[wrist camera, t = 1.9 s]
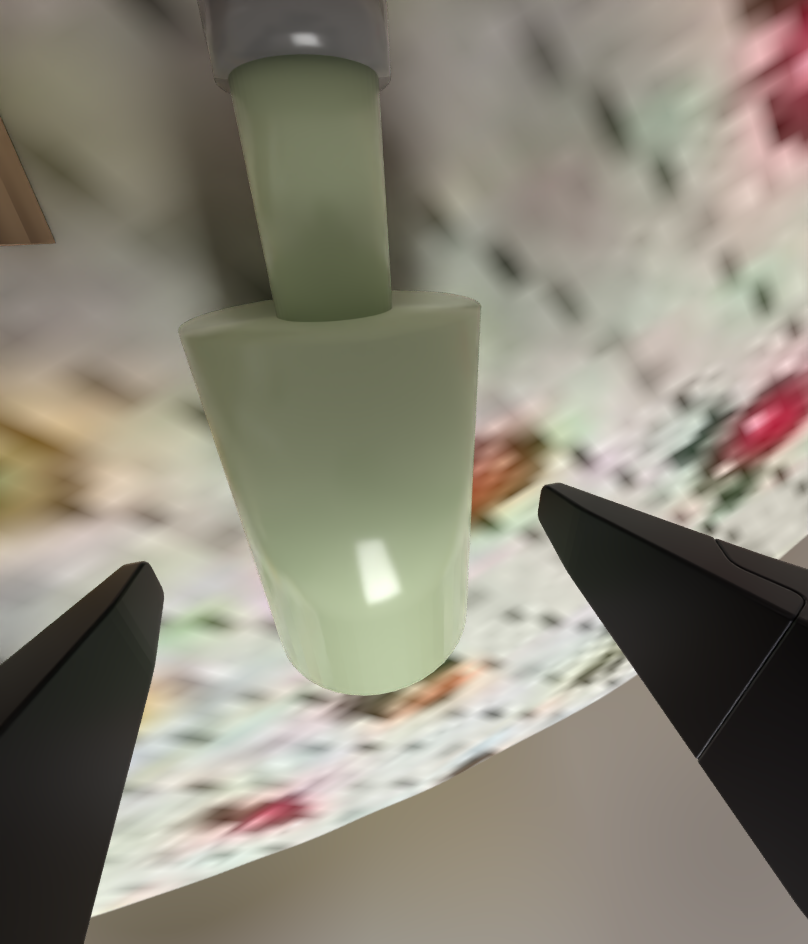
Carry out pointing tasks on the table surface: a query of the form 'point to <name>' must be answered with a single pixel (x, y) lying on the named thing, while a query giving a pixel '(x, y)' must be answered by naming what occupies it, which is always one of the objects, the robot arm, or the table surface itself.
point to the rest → (18, 201)
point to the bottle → (337, 362)
